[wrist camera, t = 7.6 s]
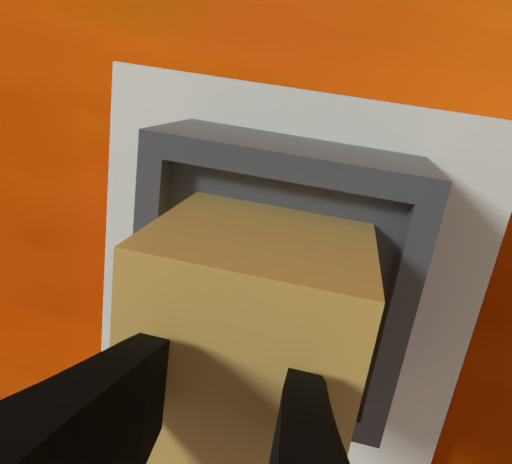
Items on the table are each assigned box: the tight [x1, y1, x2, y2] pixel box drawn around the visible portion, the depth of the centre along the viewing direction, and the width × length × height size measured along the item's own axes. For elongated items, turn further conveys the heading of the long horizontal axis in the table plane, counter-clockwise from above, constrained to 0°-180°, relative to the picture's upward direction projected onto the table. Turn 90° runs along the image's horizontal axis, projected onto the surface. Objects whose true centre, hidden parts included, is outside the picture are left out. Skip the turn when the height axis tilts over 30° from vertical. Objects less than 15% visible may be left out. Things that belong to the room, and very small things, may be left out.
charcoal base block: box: [133, 119, 452, 448], centre depth 15 cm, size 8×8×4 cm
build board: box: [101, 61, 512, 464], centre depth 19 cm, size 20×14×1 cm
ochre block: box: [110, 192, 385, 464], centre depth 12 cm, size 5×5×5 cm
